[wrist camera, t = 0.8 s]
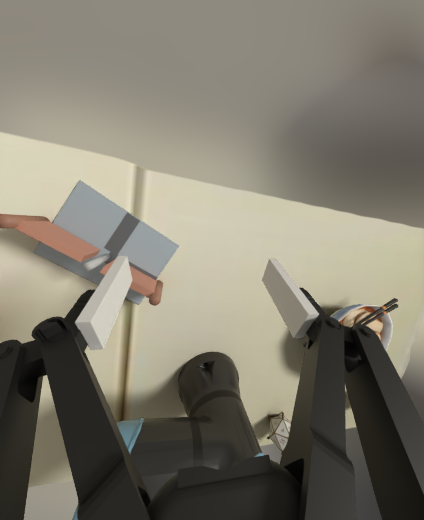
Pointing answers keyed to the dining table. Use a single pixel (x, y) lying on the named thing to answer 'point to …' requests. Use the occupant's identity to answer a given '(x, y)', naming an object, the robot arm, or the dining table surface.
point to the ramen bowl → (369, 318)
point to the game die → (279, 431)
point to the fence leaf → (50, 235)
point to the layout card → (109, 237)
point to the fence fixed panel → (139, 279)
